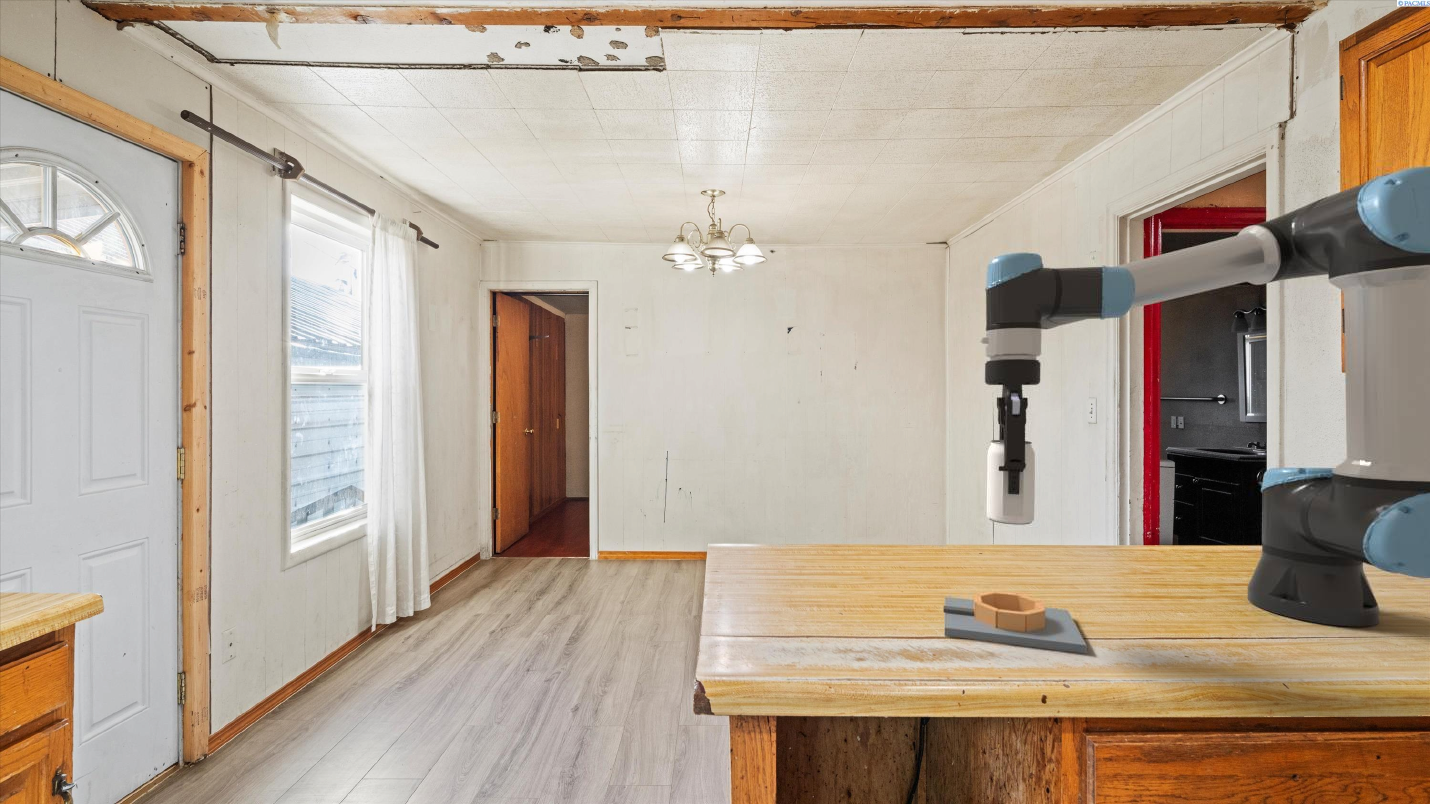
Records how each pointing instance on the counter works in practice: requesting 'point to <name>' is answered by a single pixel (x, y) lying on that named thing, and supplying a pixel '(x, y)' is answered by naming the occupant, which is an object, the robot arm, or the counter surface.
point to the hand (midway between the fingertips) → (1010, 510)
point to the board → (1012, 622)
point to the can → (996, 481)
